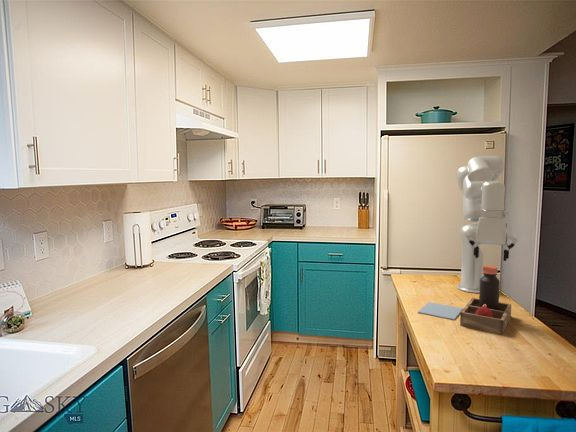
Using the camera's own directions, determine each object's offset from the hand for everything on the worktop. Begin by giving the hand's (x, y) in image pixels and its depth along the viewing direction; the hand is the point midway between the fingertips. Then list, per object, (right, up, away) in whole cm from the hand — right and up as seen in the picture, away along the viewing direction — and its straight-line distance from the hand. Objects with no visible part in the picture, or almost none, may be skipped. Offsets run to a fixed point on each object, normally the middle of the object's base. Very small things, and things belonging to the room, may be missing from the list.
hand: (490, 258), depth 145 cm
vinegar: (+1, -23, +3) cm, 24 cm away
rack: (-2, -24, 0) cm, 24 cm away
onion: (-5, -24, -4) cm, 25 cm away
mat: (-15, -23, +11) cm, 29 cm away
